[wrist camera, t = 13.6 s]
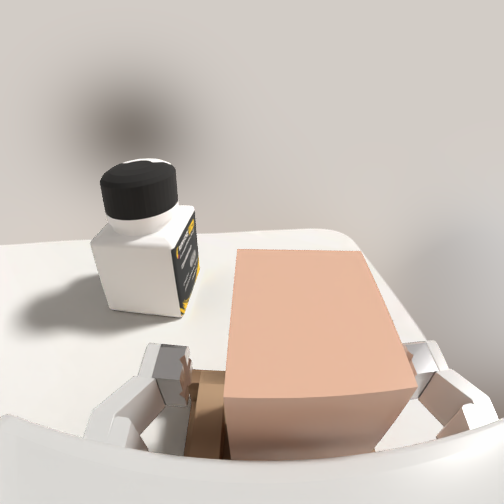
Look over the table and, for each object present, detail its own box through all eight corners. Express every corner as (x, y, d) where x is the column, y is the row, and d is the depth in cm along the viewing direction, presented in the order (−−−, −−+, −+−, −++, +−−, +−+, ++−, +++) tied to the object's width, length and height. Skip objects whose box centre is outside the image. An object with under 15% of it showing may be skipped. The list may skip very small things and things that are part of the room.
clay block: (323, 504, 13) (418, 386, 6) (238, 507, 13) (223, 397, 6) (314, 416, 18) (360, 251, 11) (241, 417, 18) (237, 249, 11)
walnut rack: (381, 526, 11) (400, 516, 10) (176, 533, 11) (164, 526, 10) (356, 392, 20) (367, 368, 18) (194, 393, 20) (189, 369, 18)
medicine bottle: (183, 319, 26) (164, 180, 20) (108, 311, 26) (74, 183, 20) (200, 270, 32) (191, 151, 26) (135, 266, 33) (116, 154, 26)
